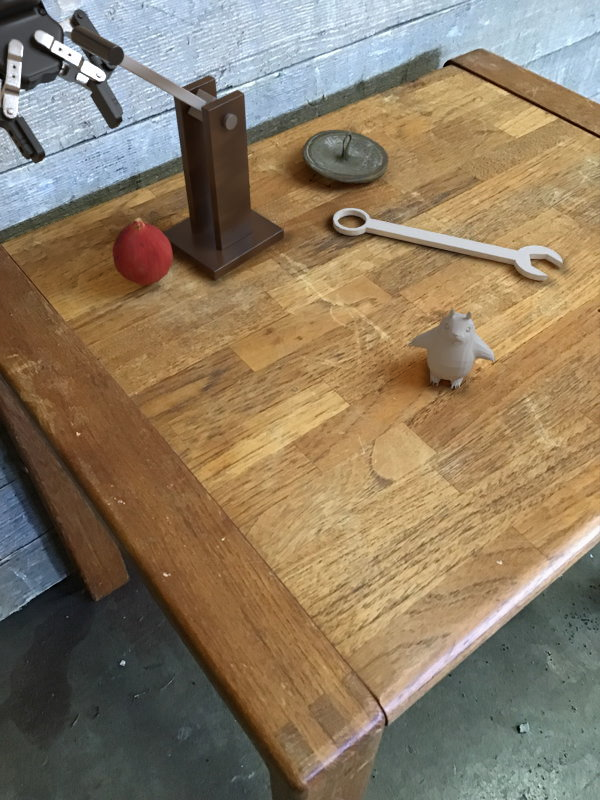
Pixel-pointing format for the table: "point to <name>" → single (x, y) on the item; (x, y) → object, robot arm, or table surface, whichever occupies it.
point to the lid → (345, 156)
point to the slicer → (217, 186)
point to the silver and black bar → (138, 68)
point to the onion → (142, 253)
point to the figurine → (452, 348)
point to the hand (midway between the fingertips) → (80, 141)
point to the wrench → (453, 243)
